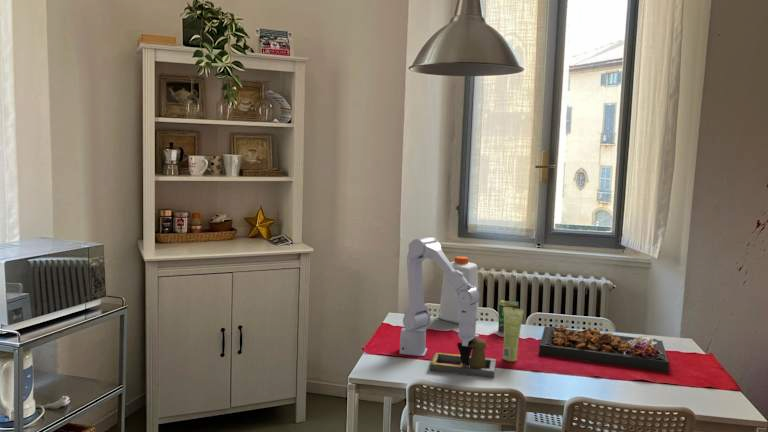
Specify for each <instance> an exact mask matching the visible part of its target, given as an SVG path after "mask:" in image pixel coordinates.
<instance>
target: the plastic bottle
mask: <svg viewBox="0 0 768 432" xmlns="http://www.w3.org/2000/svg"><path fill="white" fill-rule="evenodd" d="M449 262H450V261H449ZM450 263H451V265H452V266H453V268H454V269H455V270H458V271H460V272H462V273H463V274H464V275H463V276H464V277H465V279H466V280H467V281H468V282H469V284H471V285H472V286H473V287H476V288H478V289H479V276H478V275H479V273H478V271H479V270H478V268H479V267H478V265H477V264H476V263H474V262H469V257H468V256H461V255H459V256H458V255H456V256H455V257H454V261H451V262H450ZM442 277H443V279H442V285H441V286H442V288H441V293H440V294H441V295H440V304H439V314H438V316H439V319H441V320H442V321H446V322H451V323H455V324H458V325H459V321H460V308H459V307H460V305H459V302H458V300H457V296H458V295H457V294H456V292H455V291H454V290H453V288H452V287H451V286H450V284H449V283H448V282H447V275H446V274H445V273H444V272H443V276H442ZM478 318H479V301H478V302H477V312H476V320H478Z"/></svg>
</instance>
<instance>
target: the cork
mask: <svg viewBox="0 0 768 432" xmlns="http://www.w3.org/2000/svg"><path fill="white" fill-rule="evenodd" d="M471 345H474V347H473V349H472V350H471V354H470V356H471V360H470V365H469V366H468V367H476V368H485V369H487V367H486V362H485V358H486V355H485V354H486V353H485V350H486V349H487V342H486V341H485V339H482V338H476V339H474V340H473V341H472V343H471Z"/></svg>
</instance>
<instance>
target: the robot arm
mask: <svg viewBox="0 0 768 432" xmlns="http://www.w3.org/2000/svg"><path fill="white" fill-rule="evenodd" d="M425 259H429V260H433V262H434V263H436V265H437V266H438V267H439V268H440V269H441V271H442V272H443V274H444V273H445V274H446V275H447V282H448V283H449V284H450V286H451V287H452V288H453V290H454V291H455V292H456V294H457V295H458V296H457V300H458V302H459V305H460V307H459V308H460V321H459V324H458V334H457V336H458V338H459V339H460V340H461V342H457V344H456V346H457V348H458V351H459V355H460V356H461V362H462V363H464V364H466V365H467V364H468V361H469V357H470V356H471V355H472V350H473V347H474V345H471V343H472V341H473V340H474V339H479V337H480V335H479V334H478V333H476V328H477V327H476V326H477V319H476V312H477V302H478V303H479V302H480V300H481V292H480V291H479V287H478V288H476V287H473V286H472V285H471V284H469V282H468V281H467V280H466V279H465V277H464V276H463V275H464V274H463V273H462V272H460V271H458V270H455V269H454V268H453V266H452V265H451V263H450V260H449V258H448V257H447V256H446V255H445V253H444V251H443V249H442V245H441V243H440V242H439V241H438V240H437V238H436V237H434V236H431V235H430V236H427V237H421V238H414V239H412V241H411V242H409V243H408V253H407V255H406V265H407V266H406V267H407V268H406V269H407V288H408V289H407V292H408V305H407V306H406V308H404V311H403V312H404V313H403V314H404V315H403V318H402V323H403V327H401V330H400V337H399V354H400V355H406V356H407V355H408V356H417V357H425V356H426V354H427V352H428V348H427V347H426V341H427V340H426V339H427V338H426V337H427V329H428V326H429V325H430V324H431V315H430V313H429V307H428V306H427V305H426V304H425V300H424V284H423V283H424V281H423V280H424V279H423V277H424V276H423V261H424V260H425Z"/></svg>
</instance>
